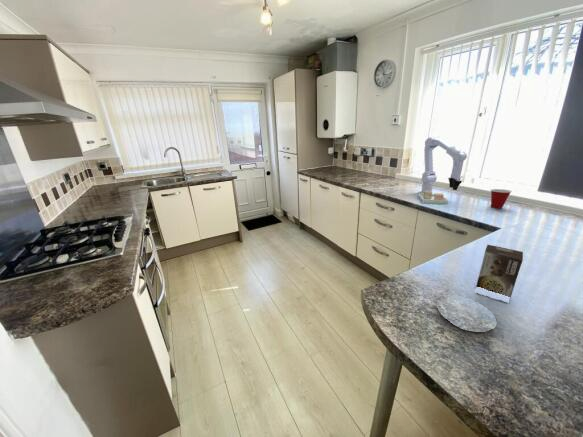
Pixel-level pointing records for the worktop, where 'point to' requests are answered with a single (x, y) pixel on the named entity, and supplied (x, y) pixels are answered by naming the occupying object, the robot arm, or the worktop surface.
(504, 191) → the plastic cup
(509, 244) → the worktop surface
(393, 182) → the worktop surface
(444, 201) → the grey tray
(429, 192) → the oak block
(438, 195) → the terracotta block
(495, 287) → the coffee box
